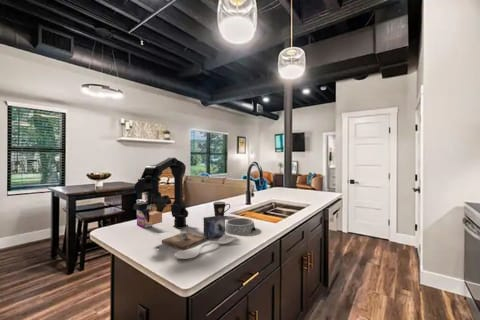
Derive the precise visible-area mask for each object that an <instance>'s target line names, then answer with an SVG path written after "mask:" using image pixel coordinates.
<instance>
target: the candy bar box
mask: <svg viewBox="0 0 480 320" xmlns="http://www.w3.org/2000/svg"><path fill="white" fill-rule="evenodd" d="M146 200H147V199H145V198H140V199H136V203H146ZM150 205H151V204H150ZM152 208H153V206H150V207H148V209H150V211H149V212H153V209H152ZM136 226H138V227H139V228H140V227H141V228H143V229H148V228H152V227H153V225H150V224H147V223H145V217H144V215H143V213H142V212H141V211H139V210H136Z"/></svg>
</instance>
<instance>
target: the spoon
mask: <svg viewBox="0 0 480 320" xmlns="http://www.w3.org/2000/svg"><path fill="white" fill-rule="evenodd" d="M237 239H238V237H237V236H236V237H231V236H229V235H228V234H226V233H225V234H224V235H223V236H222V237H220V238H218V240H211V241H206V242H204V244H202V245H199V246H195V247H191V248H187V249H185V250H181V251H178V252H175V253H174V257H175V258H177V259H180V260H189V259H193V258H195V257H197V256H199V254H200V253H201V251H202V249H203V248H204V247H206V246H210V245H212V244H217V245H226V244H229V243H231V242H234V241H235V240H237Z"/></svg>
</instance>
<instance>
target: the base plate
mask: <svg viewBox="0 0 480 320" xmlns="http://www.w3.org/2000/svg"><path fill="white" fill-rule="evenodd" d="M205 241H208V240H207V237H204V236H203V235H200V234H197V233H192V232H190V231H183V232H180V233H177V234H174V235H173V236H169V237H166V238H163V239H161V244H163V245H166V246H169V247H172V248H175V249H178V250H181V251H184V250H188V249H190V248H192V247H193V246H196V245H198V244H201V243H203V242H205Z"/></svg>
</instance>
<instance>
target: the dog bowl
mask: <svg viewBox="0 0 480 320" xmlns="http://www.w3.org/2000/svg"><path fill="white" fill-rule="evenodd" d="M253 229H255V231H256V226H255V223H254V220H253V219H250V218H247V217H238V218H237V217H235V218H231V219H228V220H227V221H225V234H226V233H227V235H228V234H229V235H232V236H247V235H251V232H252V230H253Z"/></svg>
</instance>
